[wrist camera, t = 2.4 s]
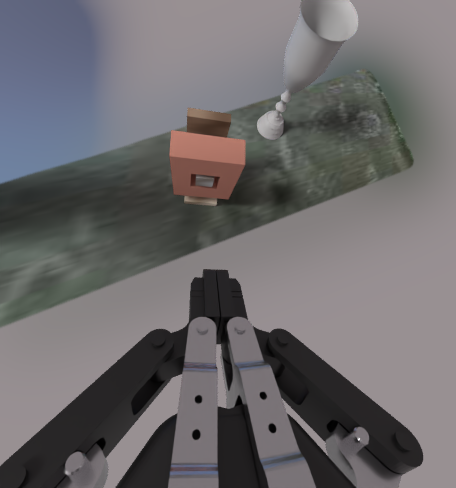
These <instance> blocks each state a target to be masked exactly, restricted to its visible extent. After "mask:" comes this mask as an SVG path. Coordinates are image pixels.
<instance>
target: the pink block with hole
mask: <svg viewBox="0 0 456 488" xmlns="http://www.w3.org/2000/svg"><path fill="white" fill-rule="evenodd" d="M170 165H171V173H172V182H173V190H174V195H185V196H196V197H207V198H219V199H229V197H230V195H231V193H232V191H233V189H234V187H235V185H236V183H237V181H238V179H239V177H240V175H241V172H242V170H243V168H244V166H245V140H240V139H232V138H225V137H217V136H210V135H202V134H195V133H188V132H180V131H173V130H171V143H170ZM196 174H198V175H208V176H214V182H213V186H212V187H206V186H196V185H195V183H196Z"/></svg>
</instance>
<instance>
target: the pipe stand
mask: <svg viewBox="0 0 456 488" xmlns="http://www.w3.org/2000/svg"><path fill="white" fill-rule="evenodd" d="M230 123H231V114H226V113H220V112H213V111H206V110H200V109H194V108H188V113H187V132H188V133H195V134H202V135H210V136H217V137H225V138H227V134H228V131H229V127H230ZM213 182H214V176H208V175H198V174H196V183H195V185H196V186H206V187H212V186H213ZM185 204H197V205H209V206H216V205H217V198H207V197H196V196H185Z"/></svg>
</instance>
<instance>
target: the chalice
mask: <svg viewBox="0 0 456 488" xmlns="http://www.w3.org/2000/svg"><path fill="white" fill-rule="evenodd" d="M357 28H358V16H357V12H356V10H355V8H354V6H353V5H352V4H351V3H350V1H349V0H301V5H300V16H299V18H298V21H297V23H296V26H295V28H294V30H293V33H292V35H291V38H290V40H289V42H288V45H287V48H286V52H285V60H284V85H285V88H286V89H287V90H286V91H285V93H283V94H282V95H281V101H280V102H278V103H277V104H276V108H277V109H276V111H269V112H267V113H266V114H264V115H263V116H262V117H260V118H259V120H258V122H257V129H258V131H259V133H260V134H261V135H262V136H263V137H265V138H267V139H272V140H274V139H278V138H279V137H280V136H281V135H282V133H283V126H284V125H283V124H284V120H283V117H282V115H281V114H280V113H281V112H283V111H285V110H286V106H285V104H286V103H287V102H289V101H290V99H291V97H290V96H291V93H296V92H299V91H300V90H302V89H304V88H305V87H307V86H308V85H310V84H311V83H312V82H314V81H315V80H316V79H317V78H318V77H320V76H321V75H322V74H323V73H324V72H325V70H326V69H327V67H328V66H329V64H330V63H331V61H332V60H333V58H334V57H335V55H336V53H337V52H338V50H339V49H340V47H341V46H342V44H343V43H344V42H345V41H346V40H348V39H349V38H350V37H352V36H353V35H354V34H355V32H356V30H357Z"/></svg>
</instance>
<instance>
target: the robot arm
mask: <svg viewBox="0 0 456 488" xmlns="http://www.w3.org/2000/svg"><path fill="white" fill-rule="evenodd" d="M189 310H190V311H189V323H188V324H187V326H186V327H184V328H183V329H181V330H179V331H176V332H173V333H170V332H169V331H167V330H165V329H156V330H153V331H151V332H150V333H148V334H147V335H146V336H145V337H144V338H143V339H142V340H141V341H139V342H138V343H137V344H136V345H135V346H134V347H133V348H132V349H130V350H129V351H128V352H127V353H126V354H125V355H124V356H123V357H122V358H120V359H119V360H118V361H117V362H116V363H115V364H114V365H113V366H111V367H110V368H109V369H108V370H107V371H106V372H105V373H104V374H102V375H101V376H100V377H99V378H98V379H97V380H96V381H95V382H94V383H92V385H90V386H89V387H88V388H87V389H86V390H85V391H83V392H82V393H81V394H80V395H79V396H78V397H77V398H76V399H75V400H73V401H72V402H71V403H70V404H69V405H68V406H67V407H66V408H65V409H63V410H62V411H61V412H60V413H59V414H58V415H57V416H56V417H55V418H53V419H52V420H51V421H50V422H49V423H48V424H47V425H45V427H43V428H42V429H41V430H40V431H39V432H38V433H37V434H36V435H34V436H33V437H32V438H31V439H30V440H29V441H28V442H26V443H25V444H24V445H23V446H22V447H21V448H20V449H19V450H18V451H16V452H15V453H14V454H13V455H12V456H11V457H10V458H9V459H8V460H6V461H5V462H4V463H3V464H2V465H1V466H0V488H103V487H104V485H105V483H106V480H107V476H108V463H107V460H106V457H107V456H108V455H109V453H110V452H111V451H112V450H113V449H114V447H115V446H116V445H117V444H118V443H119V441H120V440H121V439H122V438H123V437H124V435H125V434H126V433H127V432H128V431H129V429H130V428H131V427H132V426H133V425H134V423H135V422H136V421H137V420H138V418H139V417H140V416H141V415H142V414H143V413H144V411H145V410H146V409H147V408H148V407H149V405H150V404H151V403H152V402H153V401H154V399H155V398H156V397H157V396H158V395H159V393H160V392H161V391H162V390H163V388H164V387H165V386H166V385H167V384H168V383H169V381H170V380H171V378H173V377H175V376H178V375H180V374H182V382H181V390H180V398H179V406H178V413H177V414H175V415H173V416H172V417H170V418H169V419H167V420H166V421H165V422H164V423H162V424H161V425H160V426H159V427H158V429H157V430H156V431H155V432H154V434H153V435H152V436H151V438H150V439H149V441H148V442H147V443H146V445H145V446H144V448H143V449H142V451H141V452H140V453H139V455H138V456H137V458H136V459H135V461H134V462H133V463H132V465H131V466H130V468H129V469H128V471H127V472H126V473H125V475H124V476H123V478H122V479H121V480H120V482H119V483H118V485H117V486H116V488H398V487H399V483H400V479H401V476H402V475H403V474H405V473H406V472H408V471H410V470H412V469H414V468H416V467H418V466H420V465H421V464H422V462H423V452H422V449H421V447H420V444H419V443H418V441H417V439H416V438H415V437H414V435H413V434H412V433H411V432H410V431H409V430H408V429H407V428H406V427H404V426H403V425H402V424H401V423H400V422H398V421H397V420H396V419H395V418H394V417H392V416H391V415H390V414H389V413H388V412H386V411H385V410H384V409H383V408H381V407H380V406H379V405H378V404H376V403H375V402H374V401H373V400H372V399H370V398H369V397H368V396H367V395H365V394H364V393H363V392H362V391H361V390H359V389H358V388H357V387H356V386H354V385H353V384H352V383H351V382H349V381H348V380H347V379H346V378H345V377H343V376H342V375H341V374H340V373H338V372H337V371H336V370H335V369H333V368H332V367H331V366H330V365H328V364H327V363H326V362H325V361H324V360H322V359H321V358H320V357H319V356H317V355H316V354H315V353H314V352H313V351H311V350H310V349H309V348H308V347H306V346H305V345H304V344H303V343H302V342H300V341H299V340H298V339H297V338H295V337H294V336H293V335H292V334H291V333H289V332H288V331H286V330H284V329H274V330H272V331H271V332H270V333H269V332H265V331H262V330H259V329H257V328H255V327H254V326H252V324H251V323H250V322H249V321H248V318H247V314H246V309H245V305H244V300H243V295H242V291H241V286H240V284H239V283H238V281H237V280H236V279H232V278H231V279H230V278H229V274H228V270H216V271H215V270H210V269H204V270H203V277H202V278H197V277H195V278H194V279H193V281H192V283H191V291H190V309H189ZM216 344H221V350H222V351H221V356H220V358H221V365H222V371H223V377H224V383H225V389H226V397H227V398H226V408H222V407H218V406H217V378H218V376H217V367H216ZM282 399H283V400H284V401H286V403H287V404H288V405H289V406H291V408H292V409H293V410H294V411H295V412H296V413H297V414H298V415H299V416H300V417H301V418H302V419H303V420H304V421H305V422H306V423H307V424H308V425H309V426H310V427H311V428H312V429H313V430H314V431H315V432H316V433H317V434H318V435H319V436H320V437H321V438H322V439H323V440H324V441H325V442H326V450H327V453H328V456H327V455H326V454H325V452H323V450H322V449H321V448H320V447H319V446H318V445H317V444H316V442H315V441H314V440H313V439H312V438H311V437H310V436H309V435H308V434H307V433H306V431H305V430H304V429H303V428H302V427H301V426H300V425H299V424H298V423H297V422H296V421H295V420H294V419H293V418H292V417H291V416H290V415H289V414H287V413H286V410H285V407H284V404H283V401H282Z"/></svg>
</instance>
